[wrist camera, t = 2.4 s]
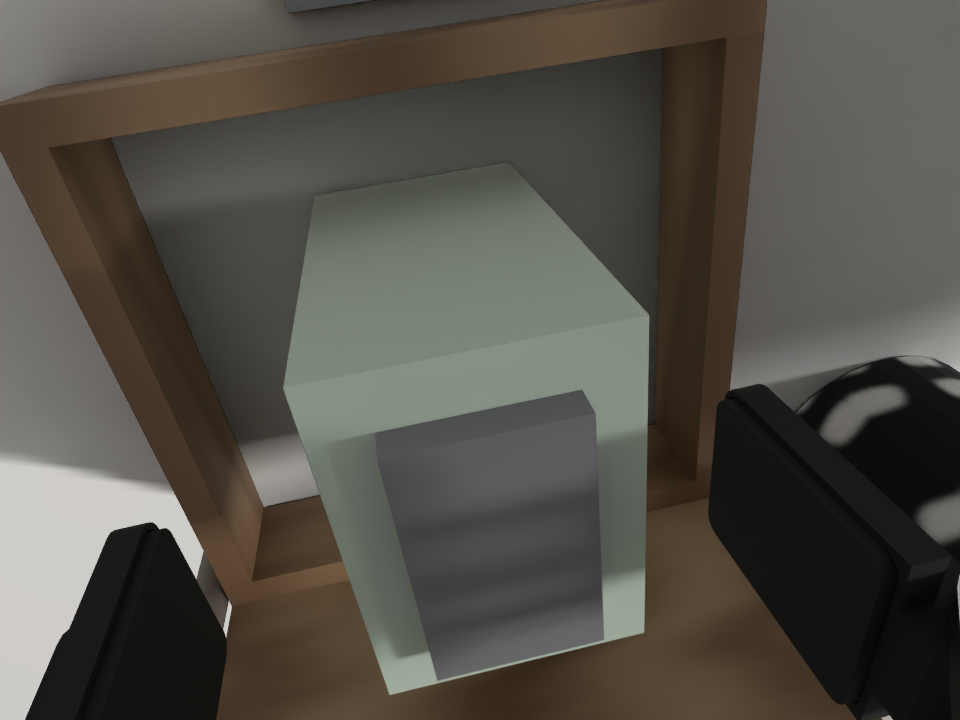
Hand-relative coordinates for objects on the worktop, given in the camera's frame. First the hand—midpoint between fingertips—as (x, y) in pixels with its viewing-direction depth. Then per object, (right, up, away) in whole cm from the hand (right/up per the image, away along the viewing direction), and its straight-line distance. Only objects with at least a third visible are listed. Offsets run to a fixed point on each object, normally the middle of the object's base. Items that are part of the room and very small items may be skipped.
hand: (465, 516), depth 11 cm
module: (-1, +4, +7) cm, 8 cm away
